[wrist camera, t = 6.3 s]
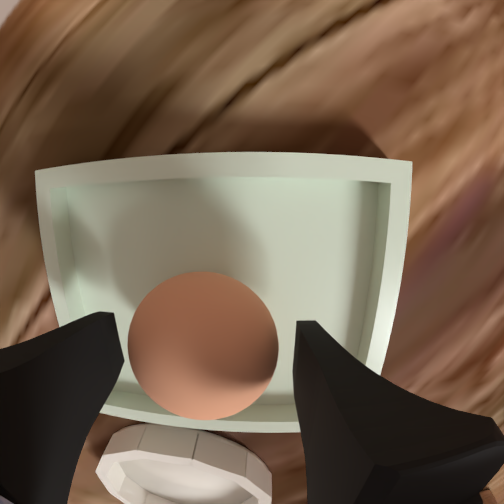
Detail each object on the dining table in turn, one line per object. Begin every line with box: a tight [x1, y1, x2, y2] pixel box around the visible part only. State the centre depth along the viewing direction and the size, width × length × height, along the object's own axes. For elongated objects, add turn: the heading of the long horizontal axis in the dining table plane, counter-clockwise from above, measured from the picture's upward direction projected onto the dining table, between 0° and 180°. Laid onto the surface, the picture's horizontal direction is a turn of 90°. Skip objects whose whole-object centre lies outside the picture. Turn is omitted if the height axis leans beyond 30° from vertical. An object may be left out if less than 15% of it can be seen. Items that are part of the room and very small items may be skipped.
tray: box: [35, 152, 412, 433], centre depth 12 cm, size 14×12×2 cm
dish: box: [96, 423, 272, 504], centre depth 16 cm, size 12×12×2 cm
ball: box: [127, 272, 279, 420], centre depth 10 cm, size 5×5×5 cm
